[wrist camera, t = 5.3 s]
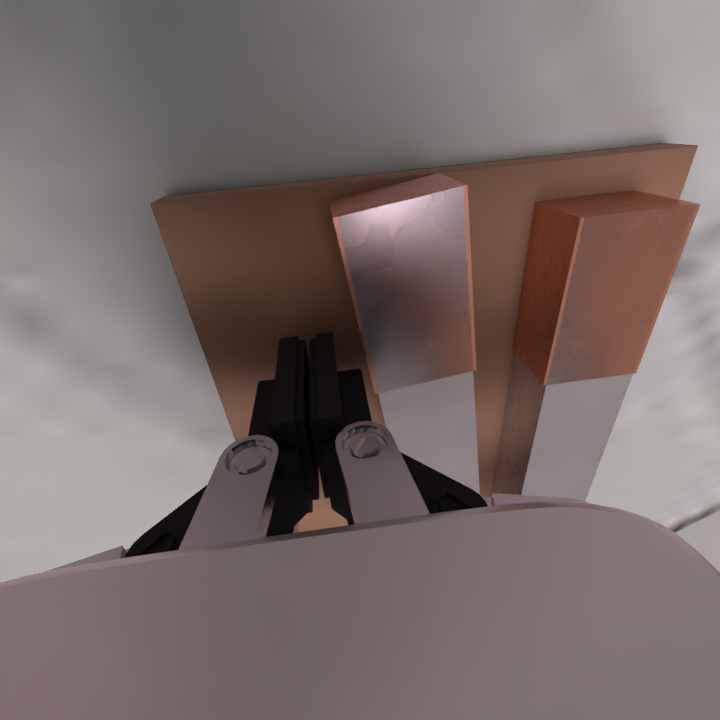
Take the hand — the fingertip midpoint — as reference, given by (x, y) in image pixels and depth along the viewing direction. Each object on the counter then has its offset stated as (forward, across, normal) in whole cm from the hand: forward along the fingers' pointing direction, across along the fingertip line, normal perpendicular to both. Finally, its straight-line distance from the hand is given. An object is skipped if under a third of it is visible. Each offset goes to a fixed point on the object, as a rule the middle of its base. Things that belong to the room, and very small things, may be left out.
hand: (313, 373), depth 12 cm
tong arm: (+1, -4, +4) cm, 6 cm away
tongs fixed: (+1, -7, +6) cm, 9 cm away
